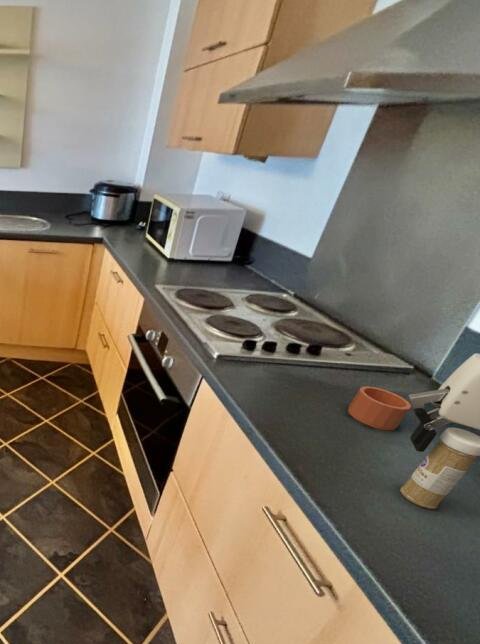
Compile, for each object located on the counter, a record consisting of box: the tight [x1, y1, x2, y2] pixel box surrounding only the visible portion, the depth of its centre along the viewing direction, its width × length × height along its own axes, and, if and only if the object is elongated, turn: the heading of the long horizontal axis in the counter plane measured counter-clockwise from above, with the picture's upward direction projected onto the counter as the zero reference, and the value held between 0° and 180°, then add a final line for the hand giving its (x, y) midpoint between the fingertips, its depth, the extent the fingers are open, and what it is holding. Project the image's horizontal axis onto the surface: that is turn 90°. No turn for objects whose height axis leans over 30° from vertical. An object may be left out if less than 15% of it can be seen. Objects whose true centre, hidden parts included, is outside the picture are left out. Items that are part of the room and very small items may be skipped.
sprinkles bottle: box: [400, 426, 480, 510], centre depth 65 cm, size 5×5×14 cm
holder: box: [347, 385, 412, 432], centre depth 87 cm, size 8×8×6 cm
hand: (451, 456), depth 64 cm, fingers open, 7 cm apart
